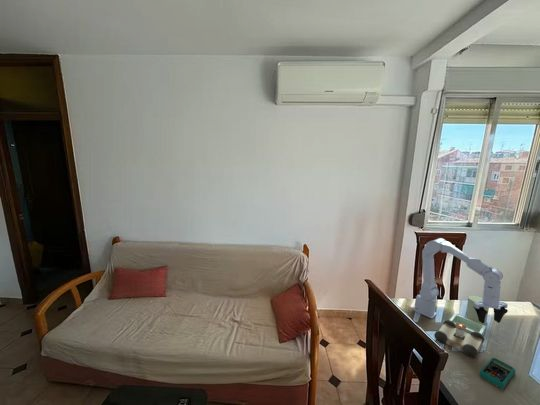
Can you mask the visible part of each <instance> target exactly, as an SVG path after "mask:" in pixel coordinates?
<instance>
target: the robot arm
mask: <svg viewBox="0 0 540 405" xmlns="http://www.w3.org/2000/svg"><path fill="white" fill-rule="evenodd" d="M438 252H440V253H443V254H445V253H446V254H447V253H448V254H451V255H452V256H454V257H456V258H457V259H458V260H460V261H463V263H465V264H466V267H467V268H469V269H471V271H474V272H475V273H476V274H478V275H480V276H481V277H482V278H483V280H484V283H483V292H482V298H483V301H480V302H477V303H474V309H475V310H476V312H477V315H478V319H479V321H480V322H481V323H484V322H485V317H486V314H487V313H488V314H489V311H488V312H487V311H486V310H485V309H484V308H489V309H493V321H495V322H496V323H498V324H500V323H501V321H502V319H503V317H504V316H505V315H506V314H507V313H508V311H509V310H508V303H507V302H504V301H500V299H501V298H500V296H501V280H502V279H503V278H504V274H503V272H502V271H500V270H499V269H498V268H495V267H493V266H490V265H488V264H486V263H484V261H482V259H481V258H477V257H470V256H469V255H468V254H466V253H465V252H463V251H462V250H460V249H459V248H458V247H456V246H455V245H453V244H452V243H451V242H450V241H447V240H446V239H445V238H442V237H439V238H436V239H434V240H429V241H427V242H426V244H425V246H424V248H423V249H422V251H421V254H422V255H421V257H422V279H423V280H422V281H423V282H422V283H421V285H420V290H419V294H417V295H416V297H415V302H414V309H413V311H414V312H416V313H418V314H419V315H423V316H426V317H428V318H430V319H434V317H435V316H436V315H437V314H438V313H437V312H436V305H437V297H438V296H439V295H440V291H439V288H438V285H437V283H436V282H435V280H436V279H435V263H434V262H435V260H434V257H435V256H434V255H435V254H437V253H438Z"/></svg>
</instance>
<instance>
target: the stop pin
mask: <svg viewBox="0 0 540 405" xmlns="http://www.w3.org/2000/svg"><path fill="white" fill-rule="evenodd" d="M455 326H456V333H455V337H457V338H459V339H461V340H463V336H464V330H466V326H465V325H464V324H462V323H456V325H455Z"/></svg>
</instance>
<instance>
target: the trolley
mask: <svg viewBox="0 0 540 405" xmlns="http://www.w3.org/2000/svg"><path fill="white" fill-rule="evenodd" d="M455 333H456V326H455V323H454V322H452V321H451V320H450V319H445V320H444V322H443V324H442V325H441V327H440V328H439V329H438V330H437V331H436V332H434V335H433V336H434V338H435V340H436V341H437V342H439V343H440V344H447V345H448V346H450V347H453V348H454V349H457V350H459V351H461V352H463V353H464V354H465V355H466V356H468V357H469V358H471V357H472V359H474V358H475V359H476V358H477V356H478V353H479V351H480V349H481V347H482V346H483V343H484V341H485V337H484V335H482V334H481V333H479V332H476V331H474V332H472V333H471V334H468V333H466V332H464V336H463V340H461V339H459V338H457V337H455Z"/></svg>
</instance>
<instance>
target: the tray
mask: <svg viewBox="0 0 540 405" xmlns="http://www.w3.org/2000/svg"><path fill="white" fill-rule="evenodd" d="M449 320H451V321H452V322H454V323H455V325H456V323H462V324H464V325H465V326H466V330H464V332H466V333H468V334H471V333H472V332H474V331H476V332H479V333H481V334H482V335H483V336H484V334H485V333H486V327H487V326H486V324H480V323H477V322H475V321H472V320H470V319H467V318H466V317H464V316H463V315H459V314H456V313H453V315H452V316H451V318H450V319H449Z"/></svg>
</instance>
